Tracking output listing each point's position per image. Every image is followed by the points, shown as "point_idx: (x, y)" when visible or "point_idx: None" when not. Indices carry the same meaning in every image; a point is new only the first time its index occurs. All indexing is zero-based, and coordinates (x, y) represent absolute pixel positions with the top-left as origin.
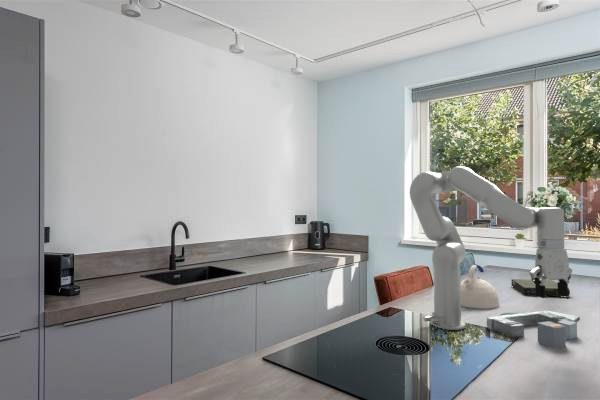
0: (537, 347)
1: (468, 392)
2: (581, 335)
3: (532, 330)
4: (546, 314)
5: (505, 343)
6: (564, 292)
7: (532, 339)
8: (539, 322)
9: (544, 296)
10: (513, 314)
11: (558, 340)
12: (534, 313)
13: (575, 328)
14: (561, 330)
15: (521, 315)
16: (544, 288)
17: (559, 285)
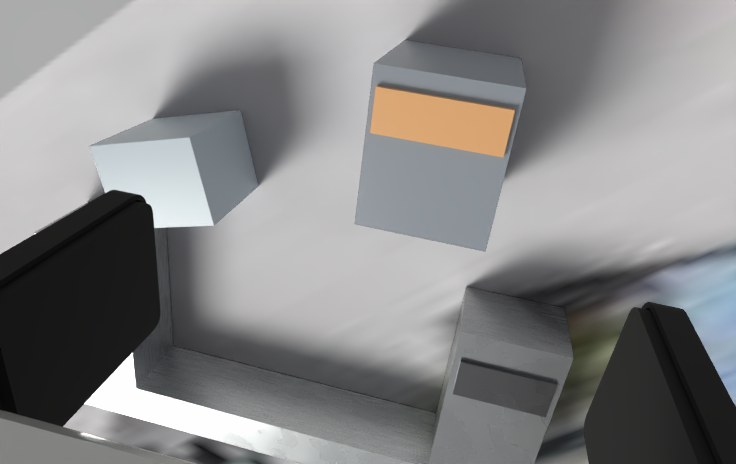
0: (617, 124)
1: None
2: (108, 117)
3: (308, 313)
4: None
5: (732, 278)
6: (127, 242)
7: None
8: (463, 246)
9: (681, 315)
10: (301, 461)
11: (472, 59)
12: (158, 403)
13: (136, 132)
14: (429, 66)
15: (273, 427)
16: (733, 441)
17: (63, 389)
